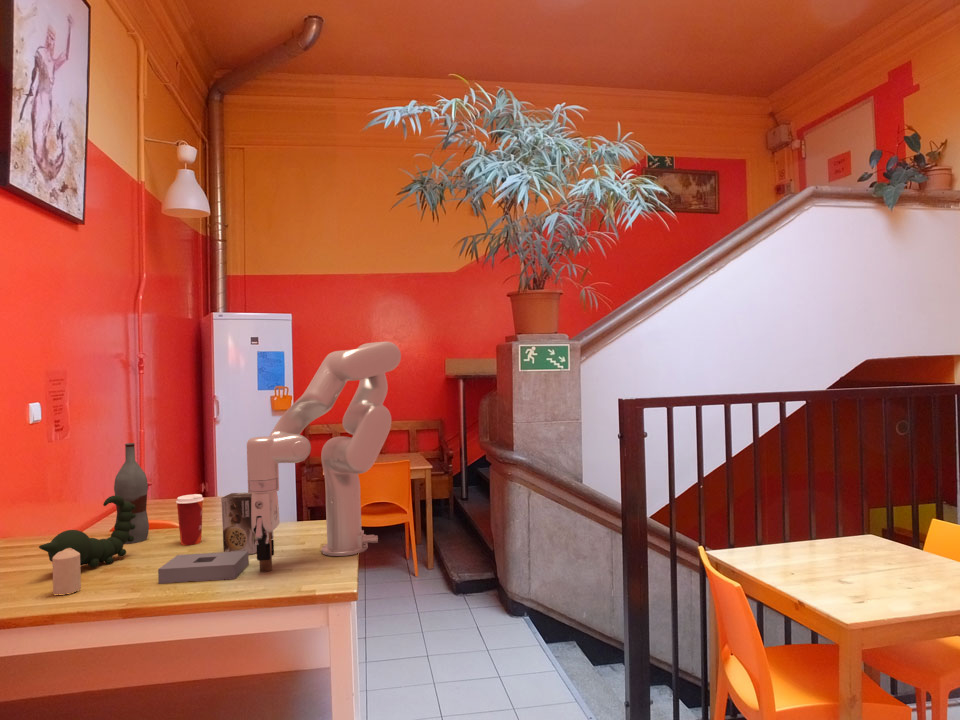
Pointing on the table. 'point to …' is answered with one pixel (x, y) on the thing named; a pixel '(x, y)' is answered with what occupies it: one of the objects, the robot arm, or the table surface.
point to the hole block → (203, 567)
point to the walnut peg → (266, 564)
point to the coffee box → (238, 523)
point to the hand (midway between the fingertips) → (265, 557)
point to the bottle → (133, 493)
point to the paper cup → (190, 518)
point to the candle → (66, 572)
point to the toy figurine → (92, 547)
